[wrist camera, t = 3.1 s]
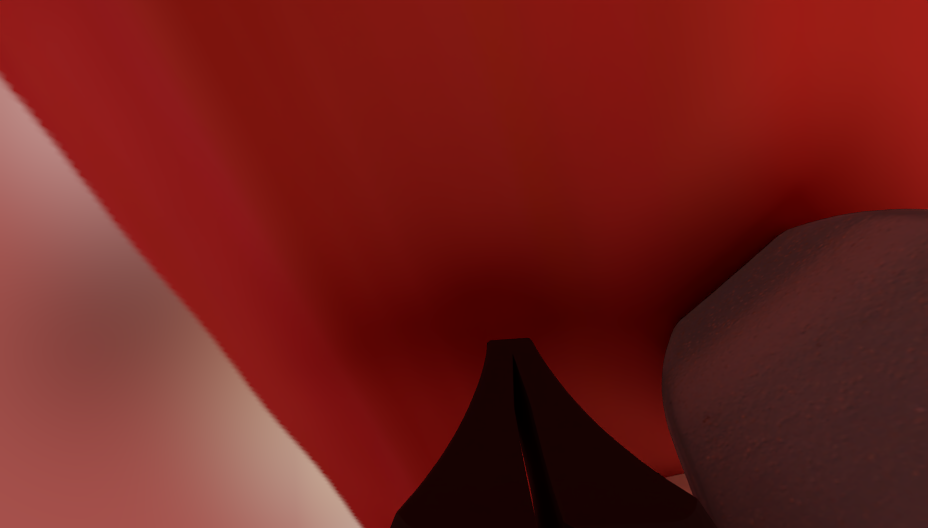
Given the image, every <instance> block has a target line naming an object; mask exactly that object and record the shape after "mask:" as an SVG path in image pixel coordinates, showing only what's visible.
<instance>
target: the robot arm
mask: <svg viewBox="0 0 928 528" xmlns="http://www.w3.org/2000/svg"><path fill="white" fill-rule="evenodd" d="M520 444H521V445H520ZM521 448H522V451H521ZM522 452H523V456H522ZM523 457H524V461H525V466H526V470H527V474H528V479H529V483H530V488H531V494H532V499H533V506H534V511H533V506H532V501H531V496H530V492H529V487H528V482H527V477H526V472H525V466H524V461H523ZM534 514H535V515H534ZM390 528H717V526H716V525H715V523H714V522H713V520H712V519H711V517H710V516H709V514H708V513H707V511H706V510H705V508H704V507H703V506H702V504H701V503H700V501H699V500H698V499H697V498H696V497H694V496H693V495H691V494H690V493H688V492H686V491H685V490H683V489H682V488H680V487H679V486H677V485H675V484H674V483H672V482H671V481H669V480H667V479H666V478H664V477H663V476H661V475H660V474H658V473H657V472H655V471H654V470H653V469H651V468H650V467H648V466H647V465H646V464H644V463H643V462H641V461H640V460H639V459H638V458H636V457H635V456H634V455H633V454H631V453H630V452H629V451H628V450H626V449H625V448H624V447H623V446H622V445H620V444H619V443H618V442H617V441H615V440H614V439H613V438H612V437H611V436H610V435H609V434H607V433H606V432H605V431H604V430H603V429H602V428H601V427H600V426H599V425H598V424H597V423H596V422H595V421H594V420H593V419H592V418H591V417H590V416H589V415H588V414H587V413H586V412H585V411H584V410H583V409H582V408H581V407H580V406H579V405H578V404H577V403H576V401H575V400H574V399H573V398H572V397H571V396H570V395H569V393H568V392H567V391H566V390H565V389H564V387H563V386H562V385H561V384H560V382H559V381H558V380H557V378H556V377H555V376H554V374H553V373H552V372H551V370H550V369H549V368H548V366H547V365H546V363H545V362H544V360H543V359H542V357H541V356H540V354H539V352H538V351H537V349H536V347H535V346H534V344H533V342H532V340H530V339H529V338H521V339H505V340H490V341H489V342H488V343H487V353H486V358H485V363H484V367H483V370H482V373H481V377H480V380H479V383H478V386H477V388H476V391H475V393H474V396H473V398H472V401H471V403H470V405H469V408H468V410H467V412H466V414H465V416H464V418H463V420H462V422H461V424H460V426H459V428H458V430H457V431H456V433H455V435H454V437H453V438H452V440H451V442H450V443H449V445H448V447H447V448H446V450H445V451H444V453H443V454H442V456H441V457H440V459H439V460H438V462H437V463H436V464H435V466H434V467H433V468H432V470H431V471H430V473H429V474H428V475H427V477H426V478H425V479H424V481H423V482H422V483H421V485H420V486H419V487H418V488H417V489H416V491H415V492H414V493H413V494H412V495H411V496H410V498H409V499H408V500H407V501H406V502H405V503H404V505H403V506H402V507H401V508H400V509H399V510H398V511H397V513H396V515H395V517H394V520H393V522H392V525H391V527H390Z"/></svg>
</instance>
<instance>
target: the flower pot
mask: <svg viewBox="0 0 928 528" xmlns="http://www.w3.org/2000/svg"><path fill="white" fill-rule="evenodd" d="M662 397H663V406H664V411H665V416H666V421H667V424H668V428H669V431H670V434H671V437H672V440H673V443H674V446H675V449H676V451H677V454H678V457H679V459H680V462H681V465H682V468H683V470H684V473H685V476H686V478H687V481H688V483H689V486H690V489H691V491H692V494H693V496H694V497H696V498H697V499H698V500H699V501H700V503H701V504H702V506H703V507H704V508H705V510H706V511H707V513H708V514H709V516H710V517H711V519H712V520H713V522H714V523H715V525H716V526H717V528H928V209H891V210H877V211H864V212H857V213H850V214H845V215H839V216H834V217H830V218H826V219H822V220H818V221H814V222H810V223H807V224H803V225H800V226H797V227H794V228H791V229H788V230H786V231H785V232H783V233H782V234H780V235H778V236H777V237H776V238H775V239H774V240H773V241H772V242H770V243H769V244H768V245H767V246H766V247H765V248H764V249H763V250H761V251H760V252H759V253H758V254H757V255H756V256H755V257H753V258H752V259H751V260H750V261H749V262H748V263H747V264H745V265H744V266H743V267H742V268H741V269H740V270H739V271H737V272H736V273H735V274H734V275H733V276H732V277H731V278H729V279H728V280H727V281H726V282H725V283H724V284H722V285H721V286H720V287H719V288H718V289H717V290H715V291H714V292H713V293H712V294H711V295H710V296H708V297H707V298H706V299H705V300H704V301H703V302H701V303H700V304H699V305H698V306H697V307H695V308H694V309H693V310H692V311H691V312H689V313H688V314H687V315H686V316H685V317H683V318H682V319H681V320H680V321H679V322H678V323H677V325H676V326H675V328H674V329H673V332H672V334H671V337H670V340H669V343H668V346H667V349H666V353H665V358H664V363H663V371H662Z"/></svg>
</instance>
